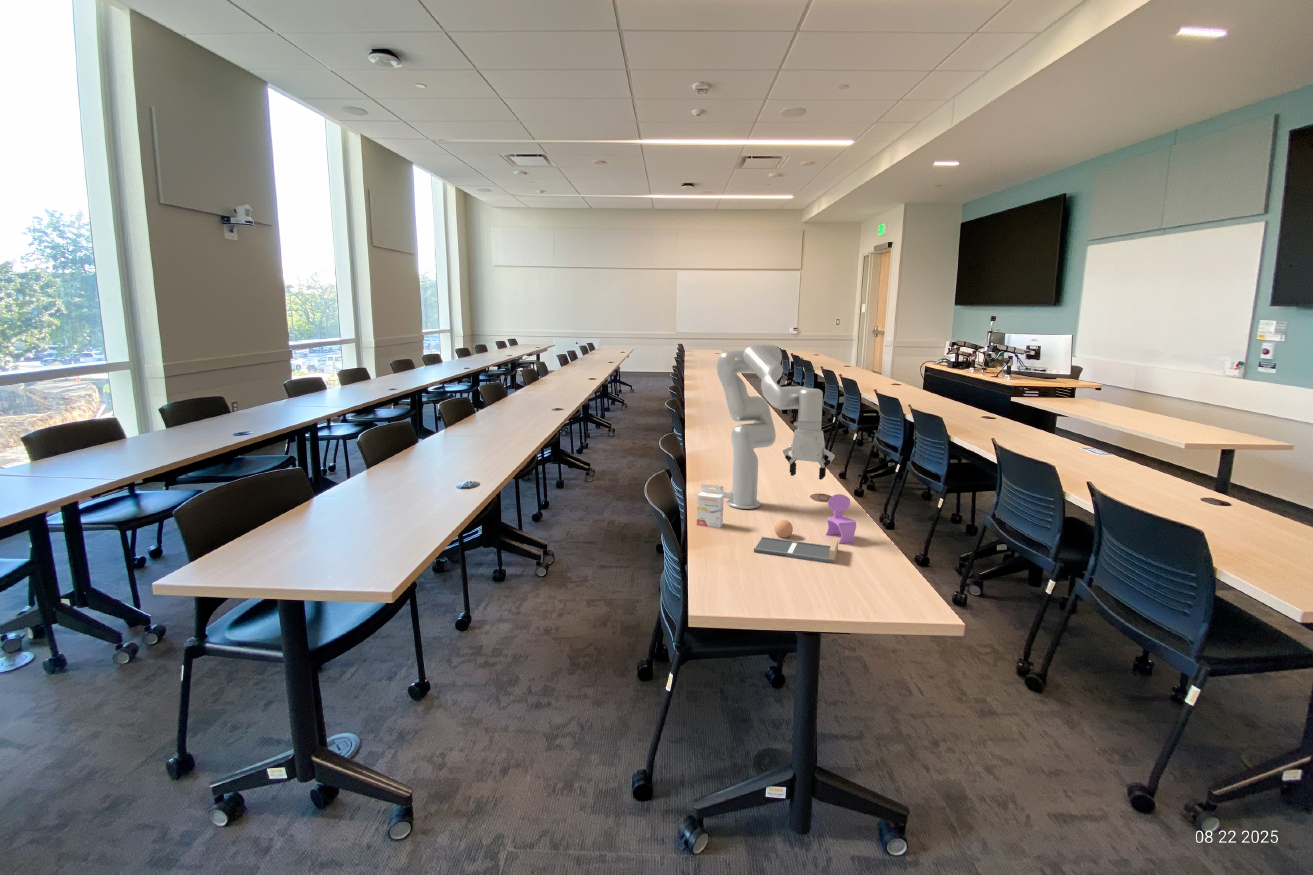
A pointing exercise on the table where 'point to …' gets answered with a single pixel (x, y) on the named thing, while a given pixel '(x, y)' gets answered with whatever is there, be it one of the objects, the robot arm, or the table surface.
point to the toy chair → (840, 519)
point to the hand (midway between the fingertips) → (807, 477)
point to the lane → (798, 549)
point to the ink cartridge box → (710, 506)
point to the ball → (783, 528)
